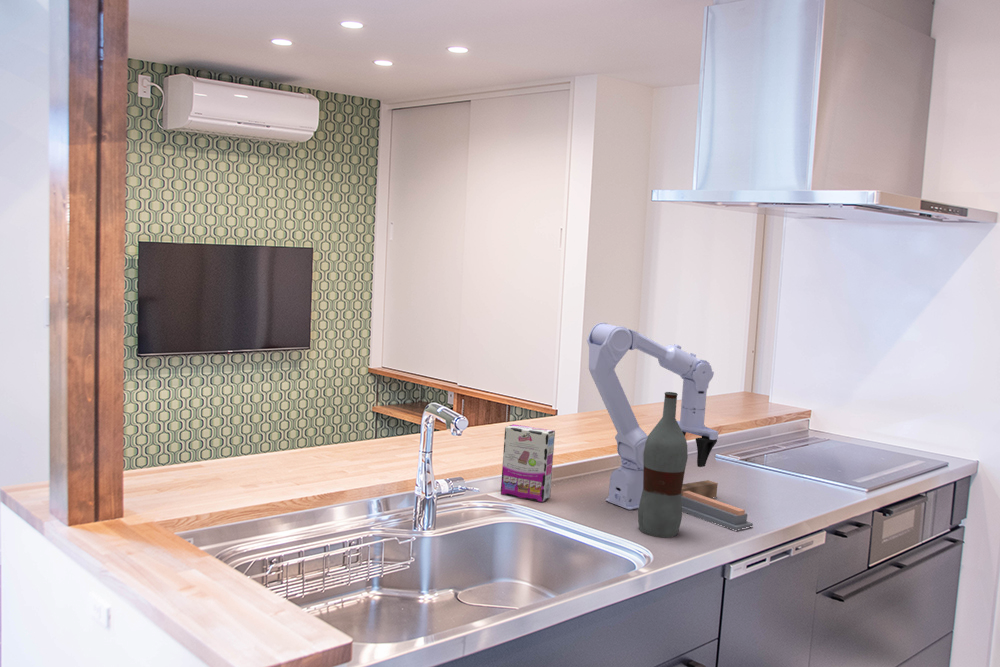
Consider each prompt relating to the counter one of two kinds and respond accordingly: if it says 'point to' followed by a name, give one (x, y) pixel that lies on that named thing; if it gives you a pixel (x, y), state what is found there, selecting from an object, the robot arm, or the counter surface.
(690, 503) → the stand
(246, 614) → the counter surface
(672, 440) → the bottle
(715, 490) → the walnut bar
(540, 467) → the candy bar box
